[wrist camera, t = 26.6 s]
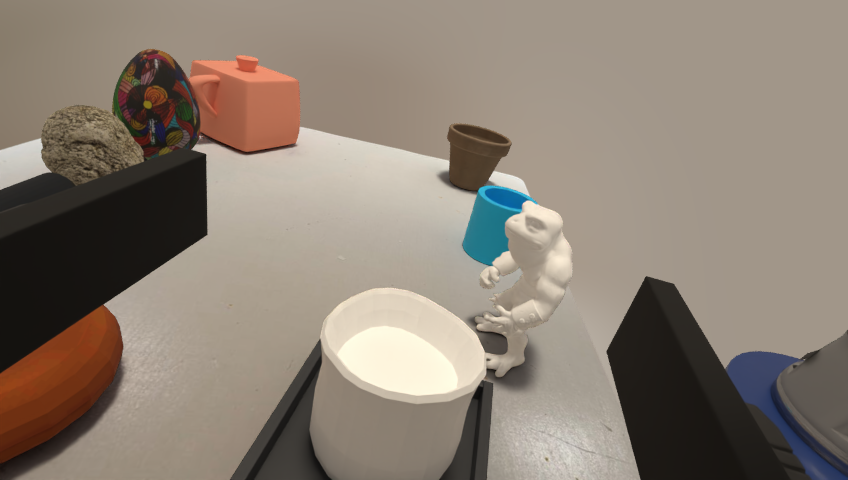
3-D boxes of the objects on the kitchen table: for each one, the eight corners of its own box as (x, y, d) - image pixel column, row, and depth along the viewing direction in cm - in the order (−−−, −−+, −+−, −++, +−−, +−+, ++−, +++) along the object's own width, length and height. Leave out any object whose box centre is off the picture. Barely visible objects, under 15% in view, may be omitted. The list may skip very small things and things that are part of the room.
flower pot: (493, 180, 90) (508, 132, 85) (498, 202, 80) (516, 148, 75) (437, 168, 89) (450, 118, 85) (436, 188, 79) (449, 132, 75)
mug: (522, 273, 59) (542, 218, 55) (461, 258, 59) (478, 202, 55) (515, 234, 69) (532, 185, 66) (463, 221, 69) (478, 172, 65)
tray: (485, 402, 37) (493, 383, 36) (468, 601, 24) (479, 579, 23) (321, 351, 38) (324, 331, 37) (221, 515, 26) (222, 491, 24)
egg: (97, 156, 62) (83, 40, 55) (156, 140, 71) (150, 39, 64) (164, 177, 60) (158, 62, 54) (216, 158, 70) (216, 58, 63)
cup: (327, 375, 35) (343, 273, 31) (451, 403, 35) (484, 305, 31) (284, 490, 27) (298, 371, 22) (447, 525, 27) (492, 414, 23)
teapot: (318, 143, 87) (326, 68, 81) (220, 161, 69) (220, 68, 63) (246, 112, 94) (249, 42, 88) (141, 122, 76) (134, 35, 70)
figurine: (543, 393, 40) (611, 250, 33) (471, 383, 39) (526, 234, 32) (518, 318, 49) (567, 194, 43) (460, 308, 49) (500, 181, 42)
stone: (122, 208, 51) (113, 123, 47) (37, 189, 51) (19, 101, 47) (155, 189, 57) (149, 111, 52) (77, 172, 57) (65, 92, 52)
